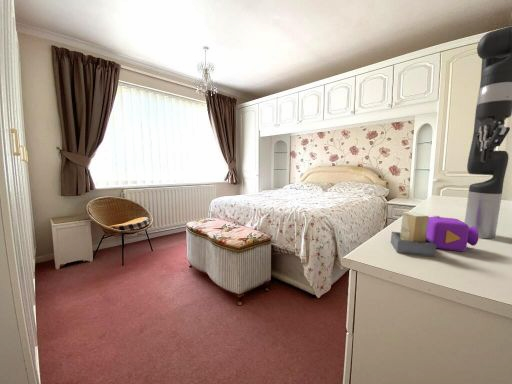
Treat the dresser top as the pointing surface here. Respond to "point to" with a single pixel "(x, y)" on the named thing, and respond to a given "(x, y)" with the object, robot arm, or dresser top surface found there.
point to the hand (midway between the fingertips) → (486, 161)
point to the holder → (413, 246)
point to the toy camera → (451, 233)
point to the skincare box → (414, 227)
